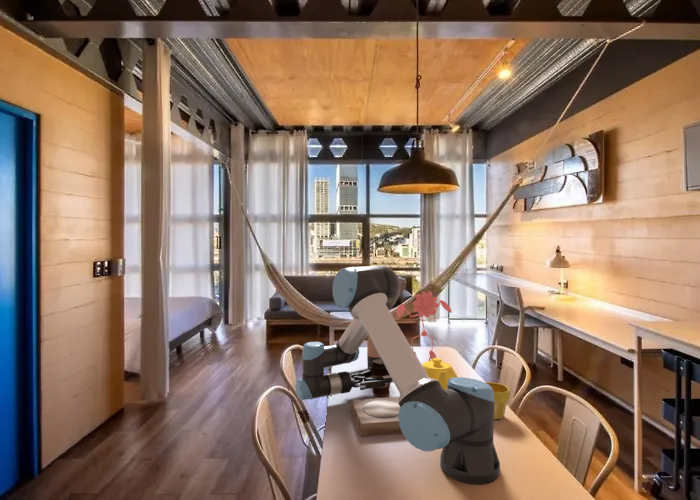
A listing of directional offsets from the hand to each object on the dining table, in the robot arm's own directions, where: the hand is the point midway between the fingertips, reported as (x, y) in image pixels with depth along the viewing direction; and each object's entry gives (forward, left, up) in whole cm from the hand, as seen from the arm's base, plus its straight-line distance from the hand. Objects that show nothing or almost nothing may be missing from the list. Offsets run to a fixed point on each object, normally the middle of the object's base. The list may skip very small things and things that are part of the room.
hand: (392, 374), depth 160 cm
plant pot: (-25, -28, -7) cm, 39 cm away
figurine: (+28, -23, -7) cm, 37 cm away
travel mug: (+21, +2, -7) cm, 22 cm away
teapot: (-5, -16, -7) cm, 18 cm away
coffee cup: (-1, +5, -7) cm, 9 cm away
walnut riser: (-23, +10, -7) cm, 26 cm away
